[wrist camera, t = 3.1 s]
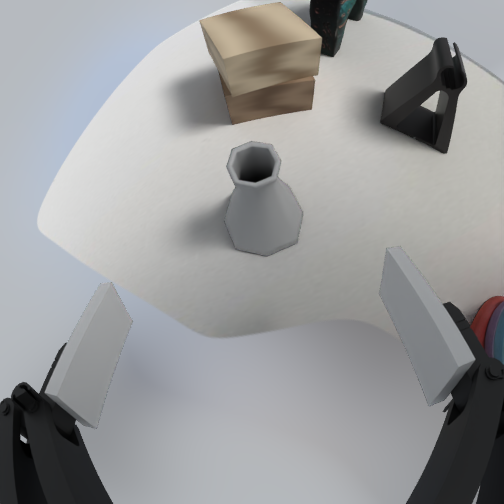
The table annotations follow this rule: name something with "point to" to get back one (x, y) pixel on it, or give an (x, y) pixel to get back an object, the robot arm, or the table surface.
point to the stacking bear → (491, 327)
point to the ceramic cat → (333, 20)
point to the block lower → (270, 100)
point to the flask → (260, 202)
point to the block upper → (261, 47)
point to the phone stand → (420, 89)
